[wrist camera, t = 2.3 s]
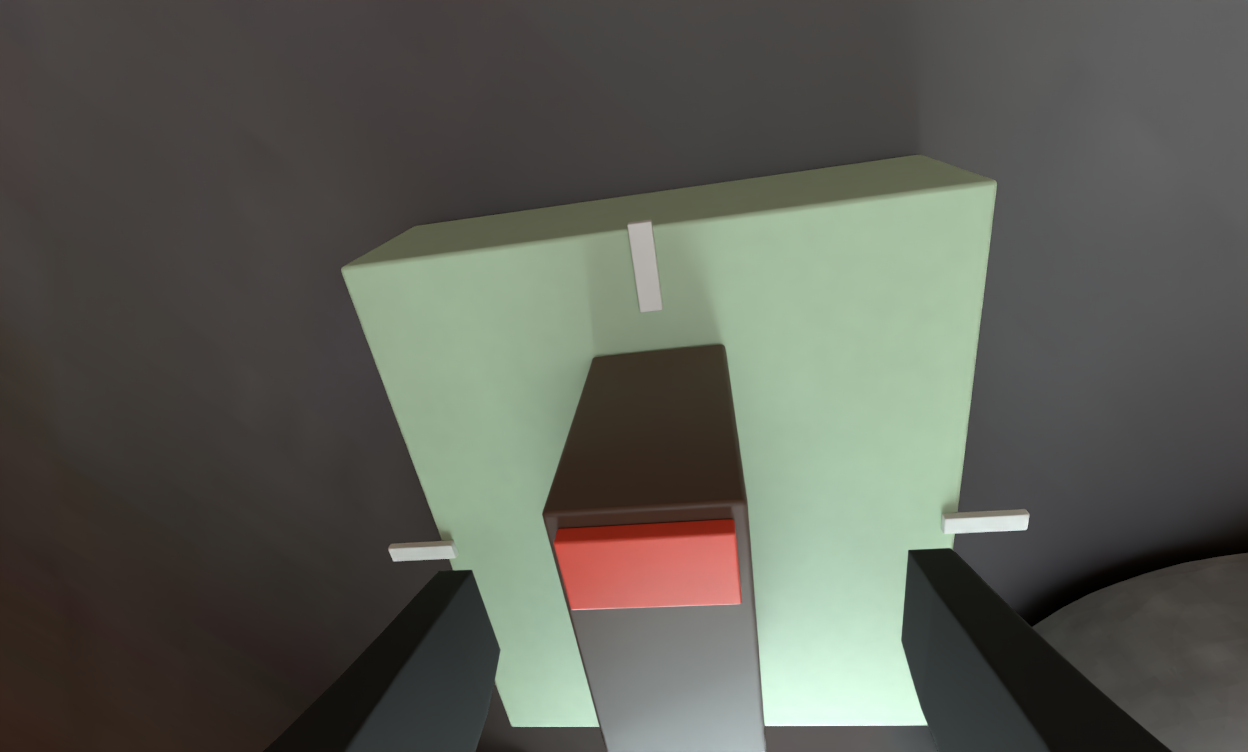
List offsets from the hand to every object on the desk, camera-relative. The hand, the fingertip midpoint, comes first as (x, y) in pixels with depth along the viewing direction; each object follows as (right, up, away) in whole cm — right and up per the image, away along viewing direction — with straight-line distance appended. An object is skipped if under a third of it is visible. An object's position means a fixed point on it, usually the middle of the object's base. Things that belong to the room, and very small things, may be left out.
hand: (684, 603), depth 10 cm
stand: (0, +2, +4) cm, 5 cm away
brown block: (0, +1, +1) cm, 2 cm away
